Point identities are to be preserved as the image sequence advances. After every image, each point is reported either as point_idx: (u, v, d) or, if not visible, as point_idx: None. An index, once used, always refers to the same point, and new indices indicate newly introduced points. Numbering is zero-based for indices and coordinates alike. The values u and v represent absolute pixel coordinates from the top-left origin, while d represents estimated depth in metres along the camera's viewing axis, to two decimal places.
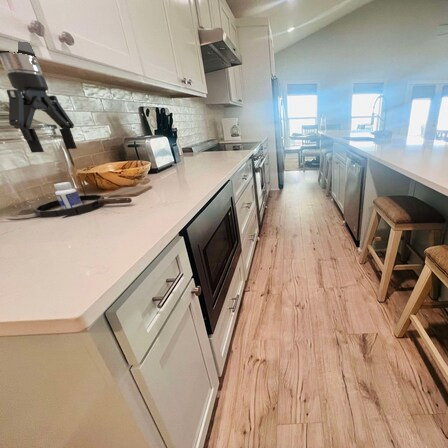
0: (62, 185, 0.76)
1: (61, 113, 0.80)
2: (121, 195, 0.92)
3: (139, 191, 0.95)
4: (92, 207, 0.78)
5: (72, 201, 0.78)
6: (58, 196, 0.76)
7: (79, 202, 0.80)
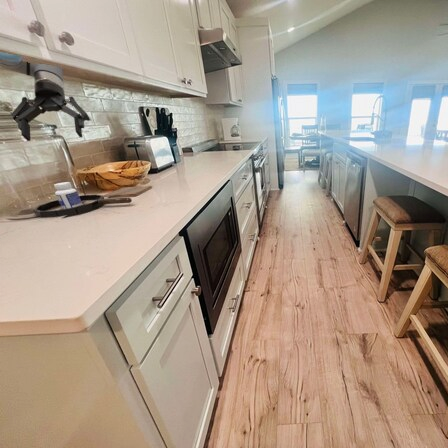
0: (62, 185, 0.76)
1: None
2: (121, 195, 0.92)
3: (139, 191, 0.95)
4: (92, 207, 0.78)
5: (72, 201, 0.78)
6: (58, 196, 0.76)
7: (79, 202, 0.80)
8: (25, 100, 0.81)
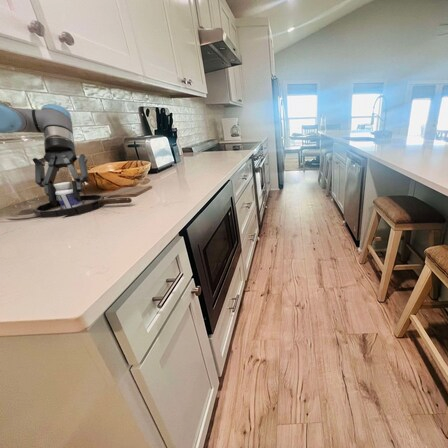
0: (62, 185, 0.76)
1: (43, 174, 0.78)
2: (121, 195, 0.92)
3: (139, 191, 0.95)
4: (92, 207, 0.78)
5: (72, 201, 0.78)
6: (58, 196, 0.76)
7: (79, 202, 0.80)
8: (37, 161, 0.78)
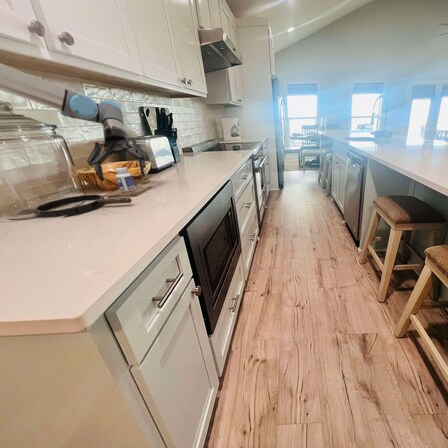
0: (122, 169, 0.92)
1: (97, 156, 0.94)
2: (121, 195, 0.92)
3: (139, 191, 0.95)
4: (92, 207, 0.78)
5: (129, 183, 0.95)
6: (118, 178, 0.93)
7: (133, 184, 0.97)
8: (97, 145, 0.94)
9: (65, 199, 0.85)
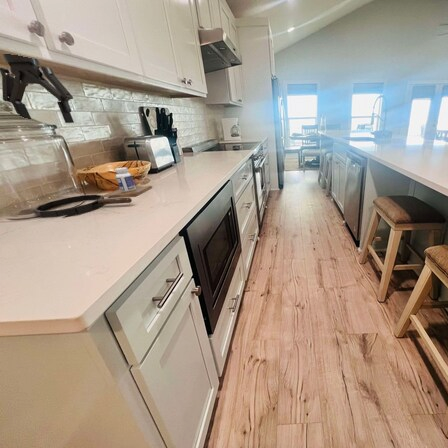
0: (122, 169, 0.92)
1: (12, 87, 0.78)
2: (121, 195, 0.92)
3: (139, 191, 0.95)
4: (92, 207, 0.78)
5: (129, 183, 0.95)
6: (118, 178, 0.93)
7: (133, 184, 0.97)
8: (4, 73, 0.75)
9: (65, 199, 0.85)
